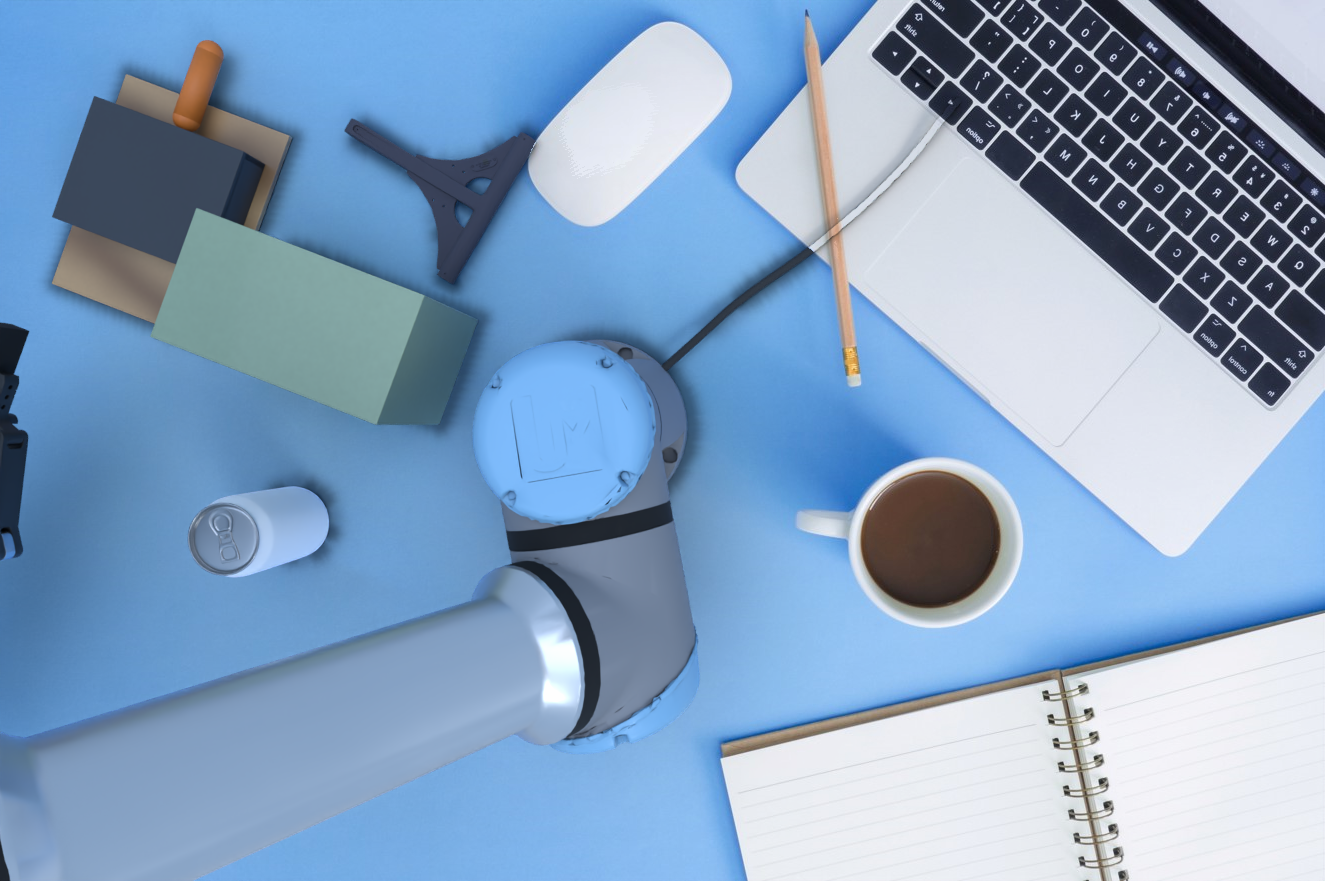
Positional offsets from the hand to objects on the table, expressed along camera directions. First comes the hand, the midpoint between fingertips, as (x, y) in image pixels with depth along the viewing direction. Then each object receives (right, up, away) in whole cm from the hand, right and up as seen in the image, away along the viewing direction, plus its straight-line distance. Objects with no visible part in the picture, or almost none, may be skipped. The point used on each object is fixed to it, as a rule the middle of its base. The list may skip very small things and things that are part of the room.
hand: (6, 325), depth 66 cm
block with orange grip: (+3, +8, +11) cm, 14 cm away
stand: (+23, +1, +13) cm, 26 cm away
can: (+16, -16, +13) cm, 26 cm away
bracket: (+28, +15, +12) cm, 34 cm away
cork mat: (+5, +12, +13) cm, 19 cm away
